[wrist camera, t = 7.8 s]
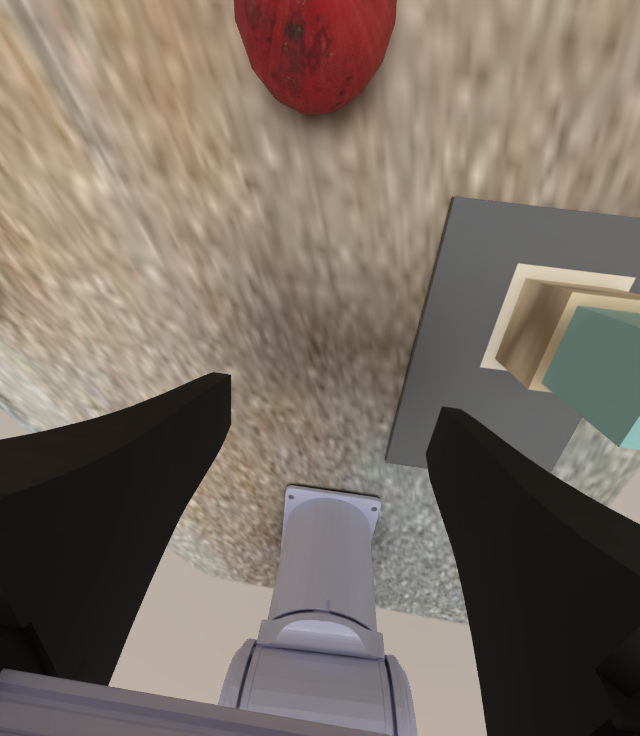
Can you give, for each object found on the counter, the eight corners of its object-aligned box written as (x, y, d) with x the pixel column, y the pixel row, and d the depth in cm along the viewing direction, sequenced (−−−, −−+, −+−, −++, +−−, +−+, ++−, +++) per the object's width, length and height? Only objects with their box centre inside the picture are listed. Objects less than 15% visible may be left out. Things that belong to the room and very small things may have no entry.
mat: (540, 480, 24) (543, 485, 23) (385, 458, 24) (385, 462, 24) (682, 224, 16) (692, 224, 16) (452, 197, 17) (454, 196, 16)
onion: (354, 153, 16) (359, 96, 9) (249, 106, 16) (163, 6, 8) (407, 3, 14) (475, -244, 6) (284, -57, 13) (205, -399, 6)
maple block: (575, 369, 19) (626, 402, 16) (494, 358, 20) (528, 389, 16) (616, 289, 17) (687, 306, 14) (525, 277, 17) (572, 292, 14)
